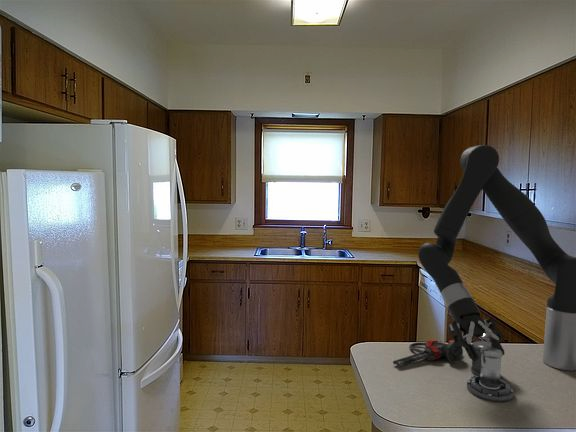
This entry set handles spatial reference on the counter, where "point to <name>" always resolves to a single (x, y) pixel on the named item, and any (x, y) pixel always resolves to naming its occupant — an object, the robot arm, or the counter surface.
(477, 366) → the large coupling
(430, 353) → the valve
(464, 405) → the counter surface
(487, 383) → the fitting
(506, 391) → the flange
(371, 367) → the counter surface
